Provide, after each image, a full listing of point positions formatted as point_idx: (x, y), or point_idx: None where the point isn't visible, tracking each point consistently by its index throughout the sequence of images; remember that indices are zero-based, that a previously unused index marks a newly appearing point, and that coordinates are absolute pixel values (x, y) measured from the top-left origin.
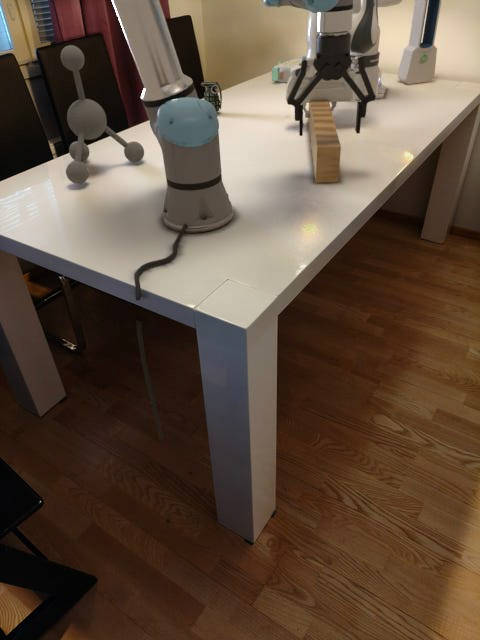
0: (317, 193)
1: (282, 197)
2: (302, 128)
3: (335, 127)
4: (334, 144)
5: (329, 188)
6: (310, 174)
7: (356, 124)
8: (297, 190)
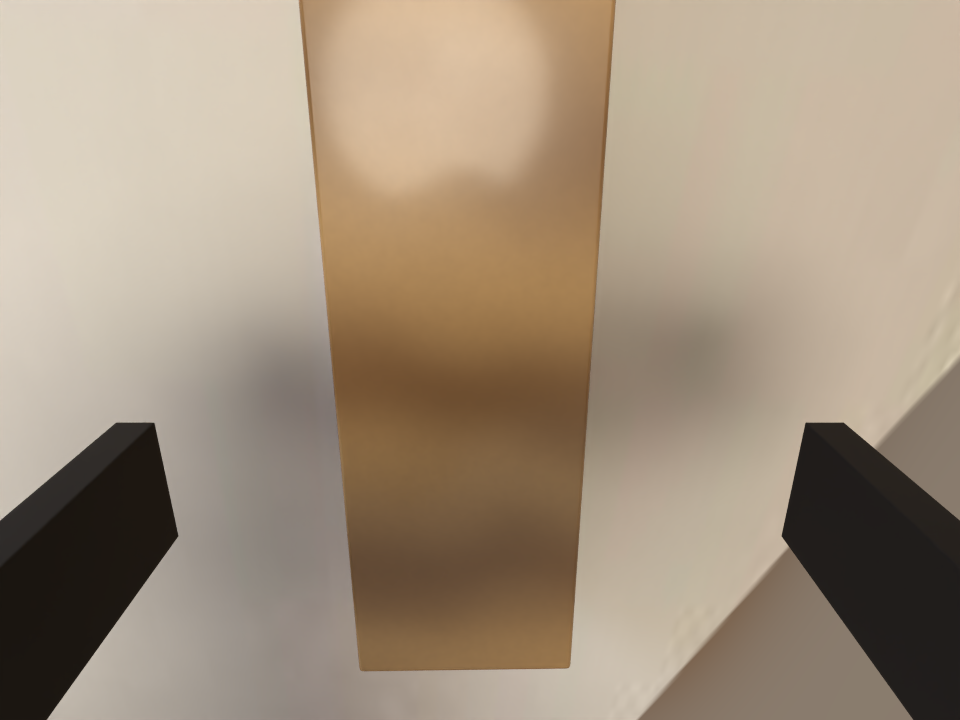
0: None
1: (220, 653)
2: (134, 592)
3: (608, 31)
4: (520, 617)
5: None
6: None
7: (837, 531)
8: (292, 580)
